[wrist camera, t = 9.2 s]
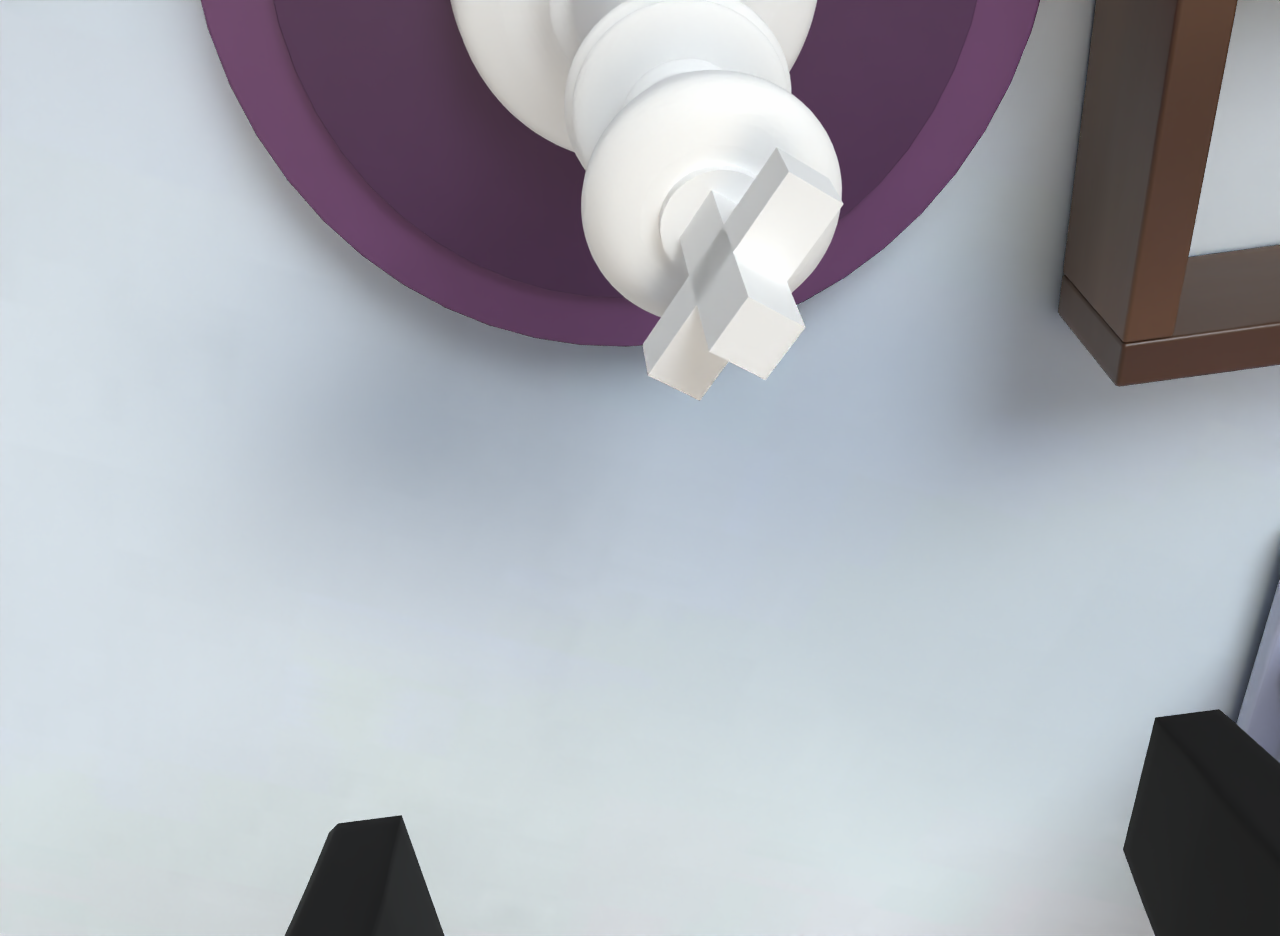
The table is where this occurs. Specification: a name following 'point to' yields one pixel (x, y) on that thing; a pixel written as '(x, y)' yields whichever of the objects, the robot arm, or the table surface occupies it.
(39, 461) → the table surface
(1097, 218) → the rack
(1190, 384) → the table surface
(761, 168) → the chess piece
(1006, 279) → the table surface
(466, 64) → the lid
